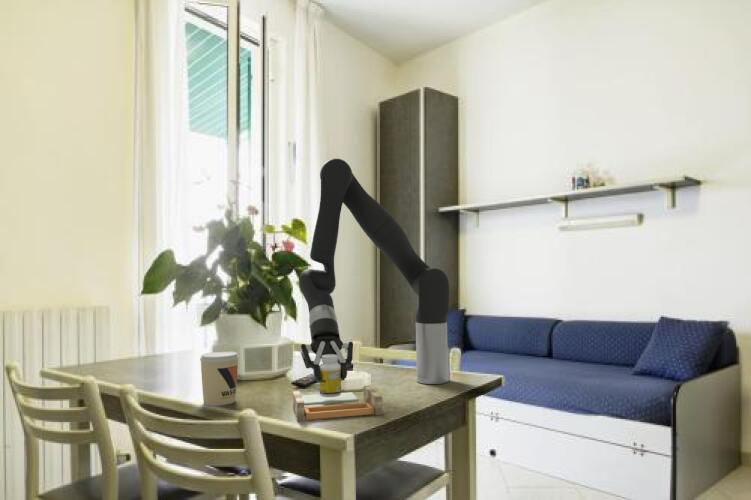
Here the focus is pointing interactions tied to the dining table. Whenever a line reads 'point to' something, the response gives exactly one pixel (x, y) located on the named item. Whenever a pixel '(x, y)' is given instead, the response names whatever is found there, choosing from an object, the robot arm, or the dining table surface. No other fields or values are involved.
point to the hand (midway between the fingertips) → (331, 379)
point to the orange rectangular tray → (338, 411)
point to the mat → (329, 398)
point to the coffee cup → (219, 377)
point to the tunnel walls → (369, 397)
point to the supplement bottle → (330, 376)
